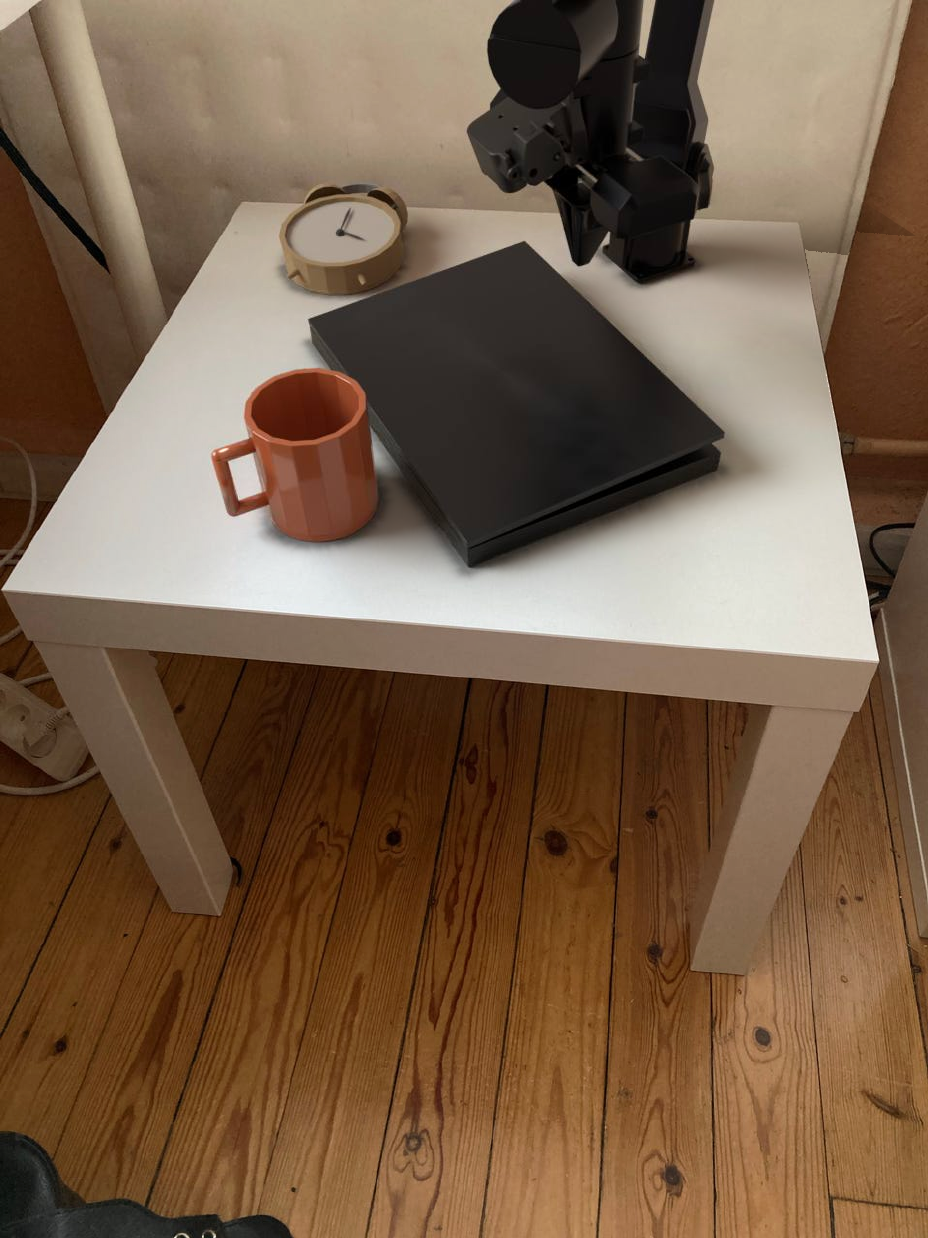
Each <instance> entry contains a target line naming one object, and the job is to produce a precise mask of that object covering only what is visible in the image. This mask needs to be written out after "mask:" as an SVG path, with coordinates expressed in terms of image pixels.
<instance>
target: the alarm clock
mask: <svg viewBox="0 0 928 1238" xmlns="http://www.w3.org/2000/svg"><path fill="white" fill-rule="evenodd" d="M363 194H367V195H363ZM407 208H408V207H407V205H406V203H405V201H404V200H403V198H402V197H401V196H400V195H399V194H398V193H397V192H396V191H395V190H393V189H391V188H388V187H385V186H382V185H380V184H377V183H371V182H353V183H352V182H351V183H347V184H344V185H341V186H339V185H337V184H334V183H328V182H327V183H321V184H317V185H315V186H313V188H311V189H310V190H309V192H308V193H307V194H306V196H305V198H304V201H303V204H302V205H300V206H299V207H297V208H296V209H294V210H293V211H292V212H290V213H289V214H288V216H287V217H286V218H285V219H284V221H283V222H282V224H281V225H280V230H279V235H278V238H279V241H280V245H281V249H282V254H283V258H284V265H285V268H286V271H287V275H286V276H285V278H286V279H287V280H288V281H290V280H292V281H293V282H294V283H295V284H296V285H297V286H299V287H301V288H303V289H305V290H307V291H310V292H313V293H317V294H322V295H327V296H337V295H338V296H340V295H341V296H342V295H344V296H345V295H346V296H347V295H352V294H357V293H363V292H366V291H368V290H371V289H373V288H376V287H377V286H380V285H382V284H384V283H385V282H386V281H388V280H389V279H390V278H392V276H394V275H395V274H396V273H397V271H398V269H399V268H400V266H401V265H402V264H403V260H404V259H403V258H404V251H405V250H404V246H403V238H402V233H403V232H404V231H405V230H406V227H407V224H408V221H409V212H408V209H407Z"/></svg>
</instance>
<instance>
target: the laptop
mask: <svg viewBox="0 0 928 1238" xmlns="http://www.w3.org/2000/svg"><path fill="white" fill-rule="evenodd" d="M309 332H310V337H311V342H312V343H311V344H312V346H314V348H315V349H316V350H317V352H318V354H319V356H321V358H322V359H323V361H324V362H325V364H326V365H327V366H328V368H329V370H333V371H338V372H341V373H343V372H342V370H341V369H340V367H339V366H338V365H337V363H336V362H335V360H334V359H333V357H332V356H331V355H330V353H329V352H328V350H327V349H326V348H325V346H324V345H323V343H322V342H321V341H320V339H319V338H318V336H317V335H316V333H315V332H314V331H313V329H312V328H311V326H310V325H309ZM343 374H344V373H343ZM368 414H369V422H370V429H371V430H372V431H373V432H374V434H375V436H376V437H377V438H378V440H379V441H380V442H381V444H382V445H383V447H384V448H385V450H386V451H387V452H388V454H389V455H390V457H391V458H392V460H393V461H394V463H395V464H396V465H397V467H398V468H399V470H400V471H401V473H402V474H403V475H404V477H405V478H406V480H407V482H409V484H410V486H411V487H412V489H413V490H414V491H415V493H416V494H417V496H418V497H419V498H420V500H421V502H422V503H423V504H424V505H425V507H426V508H427V510H428V511H429V513H430V514H431V516H432V517H433V519H434V520H435V521H436V523H437V525H438V526H439V527H440V529H441V530H442V531H443V533H444V534H445V536H446V537H447V539H448V540H449V542H450V543H451V544H452V546H453V548H454V549H455V551H457V553H458V554H459V556H460V557H461V559H462V560H463V562H464V563H465V564H466V566H467V568H472V567H473V566H476V565H478V564H482V563H484V562H486V561H489V560H491V559H494V558H496V557H500V556H502V555H504V554H506V553H509V552H511V551H514V550H517V549H520V548H521V547H525V546H527V545H529V544H533V543H535V542H538V541H540V540H543V539H545V538H548V537H550V536H553V535H556V534H558V533H560V532H563V531H567V530H568V529H570V528H574V527H576V526H578V525H581V524H582V523H583V524H584V523H586V522H589V521H591V520H594V519H596V518H599V517H601V516H603V515H607V514H609V513H612V512H614V511H617V510H620V509H621V508H625V507H627V506H630V505H632V504H635V503H638V502H640V501H642V500H645V499H648V498H650V497H653V496H656V495H657V494H660V493H663V492H665V491H669V490H671V489H674V488H675V487H678V486H681V485H683V484H686V483H689V482H690V481H694V480H696V479H699V478H701V477H703V476H706V475H708V474H712V473H713V472H716V471H718V469H719V465H720V461H721V457H722V451H721V450H720V449H719V448H718V447H717V446H716V445H715V444H713V443H711V444H709V445H707V446H704V447H702V448H700V449H697V450H695V451H693V452H690V453H688V454H686V455H683V456H681V457H679V458H676V459H674V460H672V461H670V462H667V463H665V464H663V465H660V466H658V467H656V468H653V469H651V470H649V471H646V472H644V473H642V474H639V475H637V476H635V477H632V478H630V479H628V480H626V481H623V482H621V483H619V484H616V485H614V486H612V487H609V488H607V489H605V490H602V491H600V492H598V493H595V494H593V495H591V496H588V497H586V498H584V499H582V500H579V501H577V502H575V503H572V504H570V505H568V506H565V507H563V508H561V509H558V510H556V511H554V512H551V513H549V514H547V515H544V516H542V517H540V518H538V519H535V520H533V521H531V522H528V523H526V524H524V525H521V526H519V527H517V528H514V529H512V530H510V531H507V532H505V533H503V534H500V535H498V536H496V537H494V538H491V539H489V540H487V541H484V542H482V543H480V544H477V545H475V546H473V547H470V548H467V547H466V546H465V544H464V543H463V541H462V540H461V538H460V537H459V536H458V534H457V533H456V531H455V530H454V529H453V527H452V526H451V524H450V523H449V521H448V520H447V519H446V517H445V516H444V514H443V513H442V512H441V510H440V509H439V507H438V506H437V505H436V503H435V502H434V500H433V499H432V497H431V496H430V495H429V493H428V492H427V490H426V489H425V488H424V486H423V485H422V483H421V482H420V480H419V479H418V478H417V476H416V475H415V473H414V472H413V471H412V469H411V468H410V466H409V465H408V464H407V462H406V461H405V459H404V458H403V456H402V455H401V454H400V452H399V451H398V449H397V448H396V447H395V445H394V444H393V442H392V441H391V439H390V438H389V437H388V435H387V434H386V432H385V431H384V430H383V428H382V427H381V425H380V424H379V423H378V421H377V420H376V418H375V417H374V415H373V414H372V413H371V411H370V410H369V408H368Z"/></svg>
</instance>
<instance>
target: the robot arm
mask: <svg viewBox="0 0 928 1238" xmlns="http://www.w3.org/2000/svg"><path fill="white" fill-rule="evenodd" d="M644 1H645V0H513V1H512V2H511V3H509V5H507V6H506V7H505V8H504V9H503V10H502V11H501V12H500V13H499V14H498V15H497V17H496V19H495V20H494V22H493V24H492V26H491V30H490V33H489V37H488V38H487V42H486V43H487V44H486V46H487V47H486V53H487V60H488V66H489V69H490V72H491V74H492V77H493V78H494V80H495V82H496V84H497V86H498V87H499V90H498V92H496V94H495V95H494V97H493V98H492V100H491V101H490V103H489V110H487V111H485V112H484V113H482V114H481V115H480V116H478V117H477V118H475V119H474V120H472V121H471V122H470V123H469V124H468V126H467V128H466V135H467V137H468V140H469V142H470V145H471V147H472V150H473V153H474V155H475V158H476V160H477V163H478V166H479V168H480V171H481V173H482V174H483V175H484V176H487V177H488V178H489V179H490V180H491V181H492V182H493V183H494V184H496V186H497V187H498V188H499V190H500V191H502V192H503V193H504V194H514V193H517V192H520V191H521V190H523V189H524V188H526V187H527V186H528V185H529V186H532V187H537V186H539V185H540V184H541V183H544V184H546V186H548V187H549V188H550V189H551V191H552V193H553V196H554V199H555V202H556V206H557V209H558V212H559V216H560V220H561V224H562V227H563V231H564V235H565V239H566V243H567V246H568V251H569V254H570V258H571V261H572V263H573V264H575V265H576V266H577V267H578V268H579V267H583V266H586V265H589V264H590V263H591V261H592V260H593V258H594V257H595V255H596V253H597V252H598V250H599V248H600V247H601V245H602V243H603V242H604V240H605V239H606V237H607V235H608V233H609V240H608V243H607V244H604V245H603V246H602V251H601V252H602V254H603V255H604V256H605V257H607V258H608V259H609V260H610V261H612V263H614V265H616V266H617V267H618V268H619V269H620V270H621V271H623V273H625V274H626V275H627V276H628V277H629V278H630V279H632V281H634V282H635V283H637V284H641V283H646V282H648V281H651V280H655V279H657V278H661V277H664V276H668V275H670V274H673V273H676V272H680V271H683V270H686V269H689V268H692V267H695V266H696V262H697V259H696V258H695V256H693V255H692V253H689V252H688V251H687V249H688V243H689V235H690V230H691V222H692V221H693V220H694V219H695V217H696V214H697V212H698V211H701V210H704V209H705V210H706V209H708V208H709V206H711V199H712V194H713V193H712V192H713V183H714V180H713V176H714V172H715V165H714V162H713V158H712V155H711V151H710V148H709V147H710V146H709V144H708V143H705V141H706V136H707V130H708V127H709V126H708V125H709V116H708V113H707V110H706V106H705V103H704V100H703V96H702V93H701V90H700V86H699V84H698V83H699V82H698V80H699V75H700V70H701V65H702V61H703V56H704V52H705V47H706V42H707V37H708V32H709V27H710V23H711V20H712V19H711V18H712V13H713V8H714V4H715V0H654V6H653V11H652V12H653V13H652V16H651V23H650V27H649V33H648V38H647V43H646V47H645V48H646V50H645V55H644V57H643V56H642V55H640V46H641V45H640V43H641V32H642V23H643V20H642V19H643V12H644V3H645V2H644Z"/></svg>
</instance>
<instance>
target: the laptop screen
mask: <svg viewBox="0 0 928 1238" xmlns="http://www.w3.org/2000/svg"><path fill="white" fill-rule="evenodd" d="M307 321H308V325H309V327H310V326H311V328H312V329H313V331H314V332H315V333H316V335H317V336H318V338H319V339H320V341H321V342H322V343H323V345H324V346H325V348H326V349H327V350H328V352H329V353H330V355H331V356H332V357H333V359H334V360H335V362H336V363H337V365H338V366H339V367H340V369H341V370H342V372H343V373H344V374H345V375H347V376H348V377H350V378H352V379H354V380H356V381H357V382H358V384H359V385H360V386H361V388H362V389H363V391H364V392H365V393H366V398H367V406H368V408H369V410H370V411H371V413H372V414H373V415H374V417H375V418H376V420H377V421H378V423H379V424H380V425H381V427H382V428H383V430H384V431H385V432H386V434H387V435H388V437H389V438H390V439H391V441H392V442H393V444H394V445H395V447H396V448H397V449H398V451H399V452H400V454H401V455H402V456H403V458H404V459H405V461H406V462H407V464H408V465H409V466H410V468H411V469H412V471H413V472H414V473H415V475H416V476H417V478H418V479H419V480H420V482H421V483H422V485H423V486H424V488H425V489H426V490H427V492H428V493H429V495H430V496H431V497H432V499H433V500H434V502H435V503H436V505H437V506H438V507H439V509H440V510H441V512H442V513H443V514H444V516H445V517H446V519H447V520H448V521H449V523H450V524H451V526H452V527H453V529H454V530H455V531H456V533H457V534H458V536H459V537H460V538H461V540H462V541H463V543H464V544H465V546H466V547H467V548H470V547H473V546H475V545H477V544H480V543H482V542H484V541H487V540H489V539H491V538H494V537H496V536H498V535H500V534H503V533H505V532H507V531H510V530H512V529H514V528H517V527H519V526H521V525H524V524H526V523H528V522H531V521H533V520H535V519H538V518H540V517H542V516H544V515H547V514H549V513H551V512H554V511H556V510H558V509H561V508H563V507H565V506H568V505H570V504H572V503H575V502H577V501H579V500H582V499H584V498H586V497H588V496H591V495H593V494H595V493H598V492H600V491H602V490H605V489H607V488H609V487H612V486H614V485H616V484H619V483H621V482H623V481H626V480H628V479H630V478H632V477H635V476H637V475H639V474H642V473H644V472H646V471H649V470H651V469H653V468H656V467H658V466H660V465H663V464H665V463H667V462H670V461H672V460H674V459H676V458H679V457H681V456H683V455H686V454H688V453H690V452H693V451H695V450H697V449H700V448H702V447H704V446H707V445H709V444H711V443H712V444H713V443H717V442H718V441H720V440H723V439H725V433H726V432H725V430H724V429H722V428H721V427H720V426H719V425H718V423H716V422H715V421H714V420H713V419H712V418H711V417H710V416H709V415H708V414H707V413H705V411H704V410H703V409H702V408H700V406H698V405H697V404H696V403H695V402H694V401H693V400H692V399H691V398H690V397H689V396H688V395H687V394H686V393H685V392H683V391H682V389H680V388H679V386H678V385H676V384H675V382H673V381H672V380H671V379H670V378H669V377H668V376H667V375H666V374H665V373H664V372H663V371H661V369H660V368H658V367H657V366H656V365H655V363H653V362H652V361H651V360H650V359H649V358H648V357H647V356H646V355H645V354H644V353H643V352H642V351H641V350H640V349H639V348H638V347H636V345H634V343H633V342H631V340H629V339H628V338H627V337H626V336H625V335H624V334H623V333H622V332H621V331H620V330H619V329H618V328H616V326H615V325H614V324H613V323H611V321H609V320H608V319H607V318H606V316H604V315H603V314H602V313H601V312H600V311H599V310H598V309H597V308H596V307H595V306H594V305H593V304H592V303H591V302H590V301H589V300H587V299H586V298H585V296H583V295H582V293H580V292H579V291H578V290H577V289H576V288H575V287H574V286H573V285H572V284H570V282H569V281H568V280H566V279H565V278H564V276H562V275H561V274H560V273H559V272H558V271H557V270H556V269H555V267H553V266H552V265H551V264H550V263H549V262H548V261H547V260H546V259H544V258H543V257H542V256H541V254H539V252H537V251H536V249H534V248H533V247H532V246H531V245H530V244H529V243H528V242H527V241H526V240H523V241H520V242H517V243H514V244H512V245H508V246H506V247H502V248H500V249H498V250H495V251H492V252H489V253H486V254H483V255H481V256H477V257H476V258H472V259H470V260H467V261H465V262H462V263H459V264H456V265H452V266H450V267H448V268H445V269H442V270H439V271H436V272H434V273H432V274H428V275H426V276H423V277H420V278H417V279H415V280H411V281H409V282H407V283H403V284H401V285H398V286H396V287H393V288H390V289H387V290H383V291H382V292H378V293H375V294H374V295H370V296H368V297H365V298H362V299H359V300H357V301H354V302H351V303H348V304H346V305H343V306H340V307H337V308H335V309H332V310H329V311H326V312H323V313H321V314H318V315H314V316H312V317H310V318H308V319H307Z"/></svg>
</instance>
